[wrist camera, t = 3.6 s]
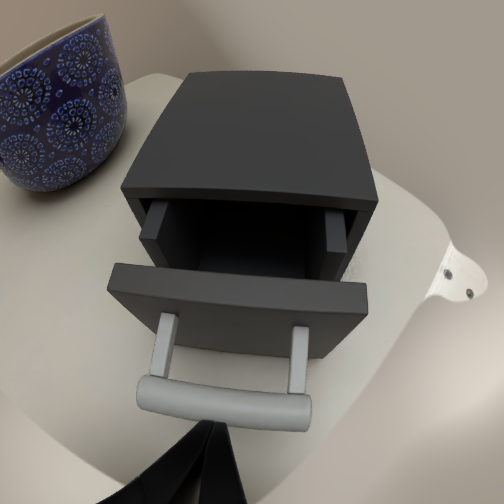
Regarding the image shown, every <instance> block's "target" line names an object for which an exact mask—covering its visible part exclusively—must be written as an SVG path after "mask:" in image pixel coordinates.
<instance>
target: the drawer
mask: <svg viewBox="0 0 504 504" xmlns="http://www.w3.org/2000/svg"><path fill="white" fill-rule="evenodd" d="M139 240H140V241H141V243H142V245H143V246H144V248H145V250H146V251H147V253H148V254H149V256H150V258H151V259H152V261H153V262H154V264H155V266H156V267H153V266H143V265H133V264H124V263H115V265H114V268H113V271H112V274H111V277H110V280H109V283H108V286H107V291H108V292H109V293H110V294H111V295H112V296H113V297H114V298H115V299H117V300H118V301H119V302H120V303H121V304H122V305H123V306H124V307H125V308H126V309H127V310H128V311H130V312H131V313H132V314H133V315H134V316H135V317H136V318H137V319H139V320H140V321H141V322H142V323H143V324H144V325H146V326H147V327H148V328H149V329H150V330H151V331H153V332H154V333H155V334H156V340H155V345H154V350H153V355H152V360H151V366H150V371H149V374H150V375H148V374H147V375H144V376H143V377H142V378H141V379H140V381H139V384H138V387H137V392H136V400H137V405H138V407H139V408H141V409H143V410H147V411H151V412H155V413H159V414H163V415H167V416H172V417H177V418H182V419H187V420H192V421H197V422H199V421H201V420H203V419H204V420H211V421H213V422H215V421H218V422H225V423H226V424H227V426H230V427H238V428H248V429H258V430H271V431H290V432H306V431H307V430H308V428H309V426H310V421H311V414H312V401H311V397H310V395H306V394H305V392H306V378H307V361H308V358H320V359H322V358H324V357H325V356H326V355H327V354H328V353H330V352H331V351H332V350H333V349H334V348H335V347H336V346H337V345H338V344H339V343H340V342H341V341H342V340H343V339H344V338H345V337H346V336H347V335H348V334H349V333H350V332H351V331H352V330H353V329H354V328H355V327H356V326H357V325H358V324H359V323H360V322H361V321H362V320H363V319H364V318H365V317H366V316H367V315H368V299H367V286H366V283H357V282H340V281H334V280H335V278H336V276H337V274H338V272H339V270H340V267H341V265H342V263H343V261H344V259H345V257H346V255H347V241H346V230H345V220H344V211H343V209H340V208H330V207H319V206H307V205H294V204H281V203H266V202H249V201H230V200H207V199H174V198H154V199H153V201H152V204H151V206H150V209H149V211H148V214H147V217H146V219H145V222H144V225H143V227H142V230H141V233H140V236H139ZM174 344H175V345H182V346H188V347H195V348H202V349H210V350H217V351H226V352H235V353H244V354H255V355H267V356H280V357H290V362H289V375H288V388H287V393H288V394H284V393H269V392H257V391H246V390H237V389H229V388H221V387H214V386H207V385H200V384H194V383H188V382H182V381H177V380H172V379H167V378H168V375H169V369H170V363H171V357H172V352H173V346H174Z"/></svg>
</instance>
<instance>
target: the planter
mask: <svg viewBox="0 0 504 504" xmlns="http://www.w3.org/2000/svg"><path fill="white" fill-rule="evenodd" d="M126 117H127V100H126V95H125V89H124V85H123V80H122V75H121V71H120V67H119V63H118V60H117V55H116V51H115V48H114V44H113V40H112V37H111V33H110V29H109V25H108V22H107V19H106V16H105V15H104V14H97V15H93V16H90V17H86V18H84V19H81V20H78V21H76V22H73V23H70V24H68V25H66V26H64V27H61V28H59V29H57V30H55V31H54V32H51V33H49V34H47V35H45V36H44V37H42V38H40V39H38V40H36V41H35V42H33V43H31V44H30V45H28V46H26V47H25V48H23V49H21V50H20V51H18V52H17V53H16V54H14V55H12V56H11V57H10V58H8V59H7V60H6V61H4V62H3V63H1V64H0V170H1V171H2V172H3V173H4V174H5V175H6V176H7V177H8V179H9V180H10V181H12V182H13V183H14V184H15V185H17V186H18V187H20V188H23V189H26V190H29V191H35V192H49V191H54V190H57V189H60V188H63V187H66V186H68V185H71V184H73V183H75V182H76V181H78V180H80V179H81V178H83V177H85V176H86V175H87V174H89V173H90V172H91V171H93V170H94V169H95V168H96V167H97V166H99V165H100V164H101V163H102V162H103V161H104V160H105V159H106V157H107V156H108V155H109V154H110V153H111V151H112V150H113V149H114V147H115V146H116V144H117V142H118V140H119V139H120V137H121V135H122V132H123V129H124V126H125V122H126Z"/></svg>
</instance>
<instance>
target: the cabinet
mask: <svg viewBox="0 0 504 504" xmlns="http://www.w3.org/2000/svg"><path fill="white" fill-rule="evenodd" d="M120 188H121V190H122V192H123V194H124V196H125V198H126V200H127V202H128V204H129V206H130V208H131V210H132V212H133V213H134V215H135V217H136V219H137V221H138V223H139V225H140V226H141V228H142V227H143V225H144V222H145V219H146V217H147V214H148V211H149V209H150V206H151V204H152V201H153V199H154V198H174V199H207V200H230V201H249V202H266V203H281V204H294V205H307V206H319V207H330V208H340V209H343V211H344V220H345V230H346V241H347V255H346V257H345V259H344V261H343V263H342V265H341V267H340V270H339V272H338V274H337V276H336V278H335V280H334V281H340V280H341V278H342V276H343V274H344V272H345V270H346V268H347V266H348V264H349V262H350V260H351V258H352V256H353V254H354V252H355V250H356V248H357V246H358V244H359V242H360V240H361V238H362V236H363V234H364V232H365V230H366V228H367V226H368V223H369V221H370V219H371V217H372V215H373V212H374V210H375V208H376V206H377V204H378V196H377V192H376V187H375V183H374V179H373V175H372V171H371V167H370V164H369V160H368V156H367V152H366V149H365V145H364V142H363V138H362V135H361V132H360V129H359V125H358V122H357V119H356V116H355V113H354V111H353V107H352V104H351V101H350V99H349V96H348V93H347V91H346V88H345V85H344V82H343V80H342V78H340V77H332V76H325V75H315V74H306V73H292V72H277V71H215V72H214V71H212V72H196V73H189V74H188V76H187V77H186V78H185V80H184V81H183V83H182V84H181V85H180V87H179V88H178V90H177V91H176V93H175V94H174V96H173V97H172V99H171V100H170V102H169V103H168V105H167V106H166V108H165V109H164V111H163V112H162V114H161V116H160V117H159V119H158V120H157V122H156V124H155V125H154V127H153V129H152V130H151V132H150V134H149V135H148V137H147V139H146V140H145V142H144V144H143V146H142V147H141V149H140V151H139V153H138V155H137V156H136V158H135V160H134V162H133V164H132V166H131V167H130V169H129V171H128V173H127V175H126V177H125V179H124V181H123V183H122V185H121V187H120Z"/></svg>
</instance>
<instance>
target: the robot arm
mask: <svg viewBox="0 0 504 504" xmlns="http://www.w3.org/2000/svg"><path fill="white" fill-rule="evenodd" d="M97 504H247V500H246V498H245V494H244V490H243V487H242V483H241V480H240V476H239V472H238V468H237V464H236V461H235V457H234V453H233V449H232V445H231V441H230V437H229V432H228V428H227V424H226V423H225V422H218V421H215V422H213V421H211V420H204V419H203V420H201V421H199V422H198V423H197V424H196V425H195V426H194V427H193V428H192V429H191V430H190V431H189V432H188V433H187V434H186V435H185V436H184V437H182V438H181V439H180V440H179V441H178V442H177V443H176V444H175V445H174V446H173V447H171V448H170V449H169V450H168V451H167V452H166V453H165V454H164V455H162V456H161V457H160V458H159V459H158V460H157V461H155V462H154V463H153V464H152V465H151V466H150V467H148V468H147V469H146V470H145V471H144V472H142V473H141V474H140V475H139V477H136V478H135V479H134V480H133V481H131V482H130V483H129V484H127V485H126V486H125V487H123V488H122V489H121V490H119V491H118V492H116V493H114V494H113V495H111V496H110V497H108V498H106V499H104V500H102V501H100V502H98V503H97Z"/></svg>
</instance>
